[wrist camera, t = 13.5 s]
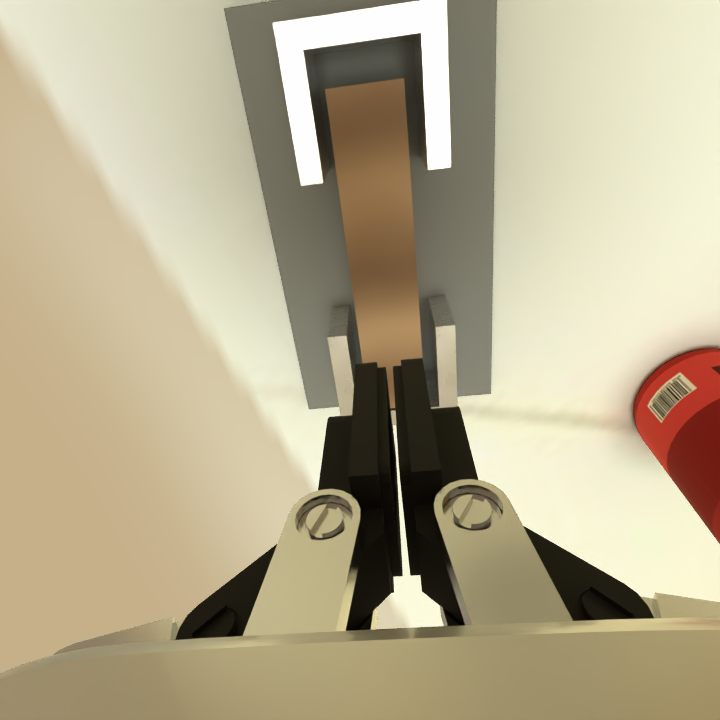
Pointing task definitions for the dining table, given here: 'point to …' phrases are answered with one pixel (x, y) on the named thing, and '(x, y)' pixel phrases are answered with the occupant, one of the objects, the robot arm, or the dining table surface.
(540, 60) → the dining table surface
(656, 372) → the canned food
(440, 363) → the endcap
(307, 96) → the endcap
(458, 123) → the mat
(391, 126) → the slat
